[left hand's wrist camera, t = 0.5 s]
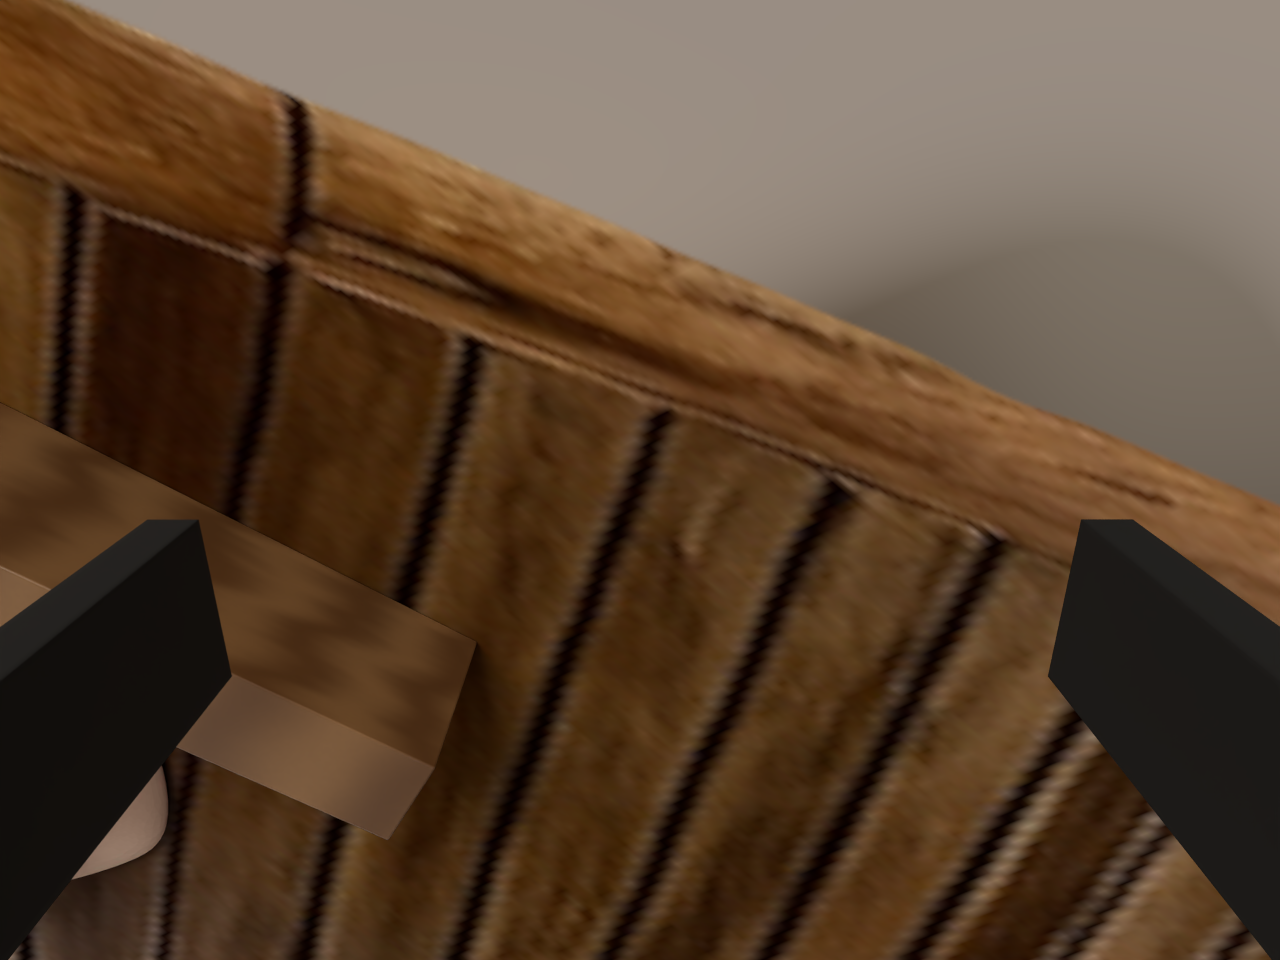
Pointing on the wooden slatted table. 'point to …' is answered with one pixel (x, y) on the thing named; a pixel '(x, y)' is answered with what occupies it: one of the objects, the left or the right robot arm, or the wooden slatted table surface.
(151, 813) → the anatomical model
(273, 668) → the bar
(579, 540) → the wooden slatted table surface
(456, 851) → the wooden slatted table surface
